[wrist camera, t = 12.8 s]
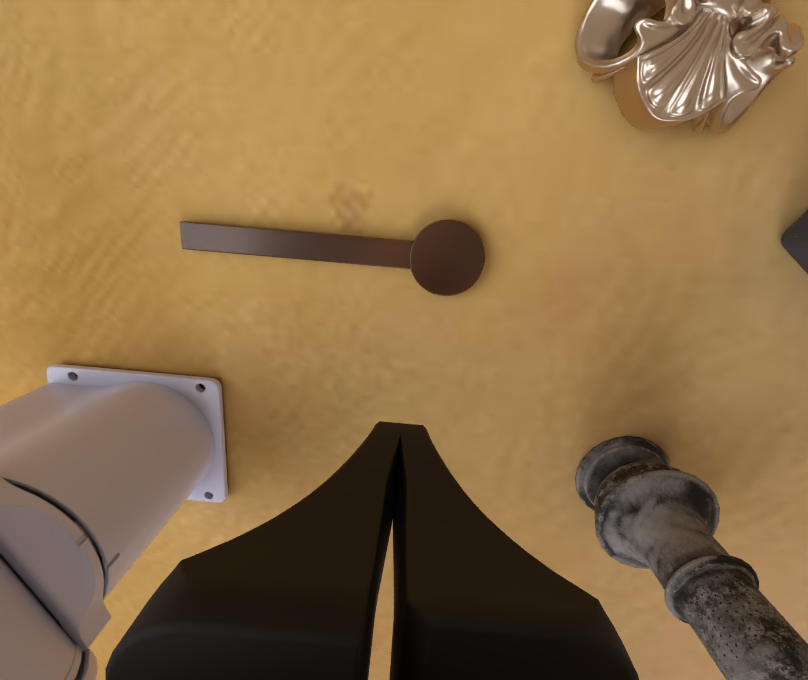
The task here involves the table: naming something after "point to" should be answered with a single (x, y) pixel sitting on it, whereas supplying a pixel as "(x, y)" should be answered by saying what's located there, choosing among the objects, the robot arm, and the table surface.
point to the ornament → (686, 57)
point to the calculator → (798, 241)
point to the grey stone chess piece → (687, 558)
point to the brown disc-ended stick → (358, 250)
